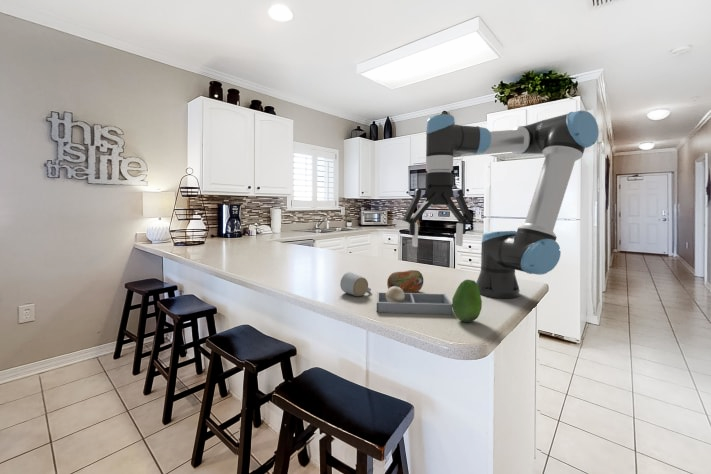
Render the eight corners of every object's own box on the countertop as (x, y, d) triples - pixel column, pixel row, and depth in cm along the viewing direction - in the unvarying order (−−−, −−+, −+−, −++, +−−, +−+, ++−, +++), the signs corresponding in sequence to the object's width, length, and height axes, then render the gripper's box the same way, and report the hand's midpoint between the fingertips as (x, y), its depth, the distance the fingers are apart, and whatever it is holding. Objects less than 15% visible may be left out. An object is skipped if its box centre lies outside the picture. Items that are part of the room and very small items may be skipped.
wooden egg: (403, 302, 108) (404, 284, 107) (405, 308, 102) (405, 289, 101) (385, 301, 108) (385, 284, 108) (385, 307, 102) (385, 288, 102)
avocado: (486, 322, 92) (488, 280, 90) (468, 328, 87) (470, 284, 86) (463, 314, 98) (465, 275, 97) (445, 319, 94) (446, 278, 93)
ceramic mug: (354, 299, 114) (354, 277, 113) (339, 294, 120) (340, 273, 119) (376, 294, 121) (376, 273, 120) (361, 289, 127) (361, 270, 126)
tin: (390, 296, 117) (390, 273, 116) (385, 294, 120) (385, 271, 119) (423, 291, 124) (424, 269, 123) (418, 289, 126) (419, 268, 126)
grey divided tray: (444, 302, 110) (444, 294, 109) (452, 314, 98) (452, 304, 98) (376, 300, 111) (377, 292, 111) (376, 312, 100) (376, 302, 99)
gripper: (473, 173, 99) (470, 243, 101) (393, 172, 95) (392, 245, 98) (486, 171, 92) (483, 246, 94) (400, 170, 88) (399, 248, 90)
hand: (437, 246), depth 96 cm, fingers open, 13 cm apart
